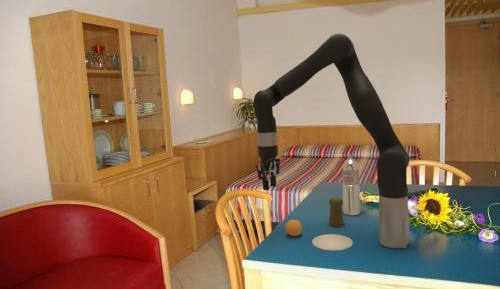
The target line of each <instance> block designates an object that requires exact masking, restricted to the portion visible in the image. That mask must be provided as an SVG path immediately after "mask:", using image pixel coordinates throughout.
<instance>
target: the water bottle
mask: <svg viewBox="0 0 500 289" xmlns="http://www.w3.org/2000/svg"><path fill="white" fill-rule="evenodd" d="M353 156H354V155H352V154H350V155H348V156H347V158H348V159H346V160H345V161H344V162H343V164H342V166H341V167H342V168H341V169H342V201H343V204H342V206H343V208H342V211H343V214H345V215H346V216H351V217H353V216H358V215H360V213H361V201H360V200H361V196H360V195H361V194H360V192H361V191H360V164H359V163H358V162H357V161H356V160H355V159H354V157H353Z"/></svg>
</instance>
